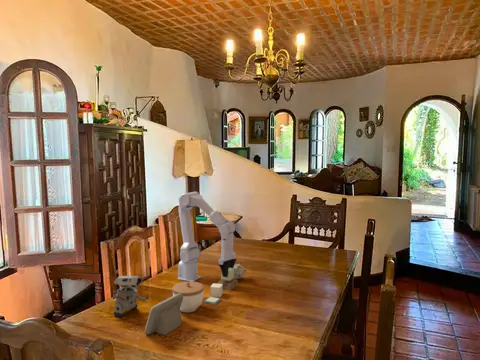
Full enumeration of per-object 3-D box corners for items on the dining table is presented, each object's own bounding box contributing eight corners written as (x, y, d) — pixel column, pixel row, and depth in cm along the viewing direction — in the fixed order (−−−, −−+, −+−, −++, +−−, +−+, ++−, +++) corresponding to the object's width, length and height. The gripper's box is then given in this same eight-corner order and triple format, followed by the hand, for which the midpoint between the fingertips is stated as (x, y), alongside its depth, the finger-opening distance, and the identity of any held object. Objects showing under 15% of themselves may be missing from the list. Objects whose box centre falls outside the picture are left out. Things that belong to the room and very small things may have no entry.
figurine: (134, 320, 133) (133, 282, 132) (110, 315, 137) (109, 277, 136) (149, 310, 141) (148, 274, 140) (126, 305, 145) (125, 270, 144)
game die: (239, 287, 176) (243, 276, 169) (224, 280, 177) (227, 268, 171) (245, 274, 182) (249, 262, 176) (231, 267, 184) (234, 255, 178)
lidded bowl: (178, 318, 135) (177, 290, 134) (168, 305, 146) (168, 279, 145) (208, 311, 140) (208, 284, 140) (197, 299, 152) (197, 275, 151)
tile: (202, 302, 149) (202, 300, 149) (209, 297, 154) (209, 295, 154) (215, 305, 146) (215, 303, 146) (221, 299, 152) (221, 298, 152)
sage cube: (221, 279, 165) (221, 269, 165) (225, 276, 170) (225, 267, 169) (229, 280, 164) (229, 271, 163) (233, 277, 168) (233, 268, 167)
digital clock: (175, 316, 136) (175, 289, 136) (190, 323, 130) (190, 295, 130) (139, 331, 124) (138, 302, 124) (153, 340, 118) (153, 310, 118)
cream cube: (210, 296, 155) (210, 287, 155) (212, 292, 159) (212, 283, 159) (220, 297, 154) (220, 287, 154) (222, 293, 159) (222, 284, 158)
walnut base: (217, 288, 165) (217, 282, 165) (224, 283, 172) (224, 277, 171) (230, 291, 162) (230, 284, 162) (237, 286, 168) (237, 280, 168)
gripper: (228, 251, 157) (228, 281, 158) (241, 244, 170) (241, 271, 171) (214, 250, 160) (214, 279, 161) (228, 242, 173) (228, 269, 174)
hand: (227, 275), depth 166 cm, fingers closed on sage cube, 4 cm apart
